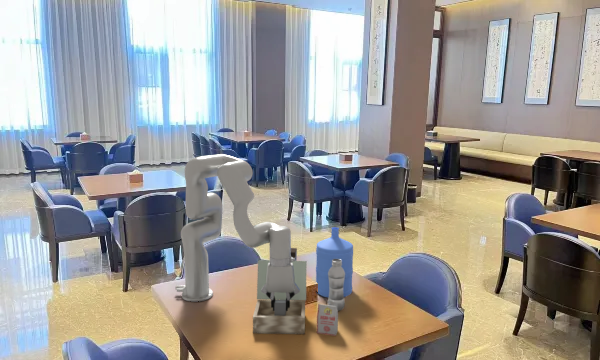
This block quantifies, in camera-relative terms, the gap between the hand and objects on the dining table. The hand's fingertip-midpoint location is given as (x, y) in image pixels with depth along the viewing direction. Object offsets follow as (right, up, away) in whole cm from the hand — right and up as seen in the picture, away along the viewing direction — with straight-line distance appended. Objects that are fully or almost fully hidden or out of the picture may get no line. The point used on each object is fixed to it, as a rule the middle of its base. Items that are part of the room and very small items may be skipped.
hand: (280, 308), depth 163 cm
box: (0, -6, +1) cm, 6 cm away
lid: (0, +9, +8) cm, 12 cm away
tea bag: (+17, -7, -4) cm, 19 cm away
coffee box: (+1, 0, +38) cm, 38 cm away
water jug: (+22, -1, +30) cm, 37 cm away
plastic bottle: (+21, -4, +13) cm, 25 cm away
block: (0, -2, 0) cm, 2 cm away
